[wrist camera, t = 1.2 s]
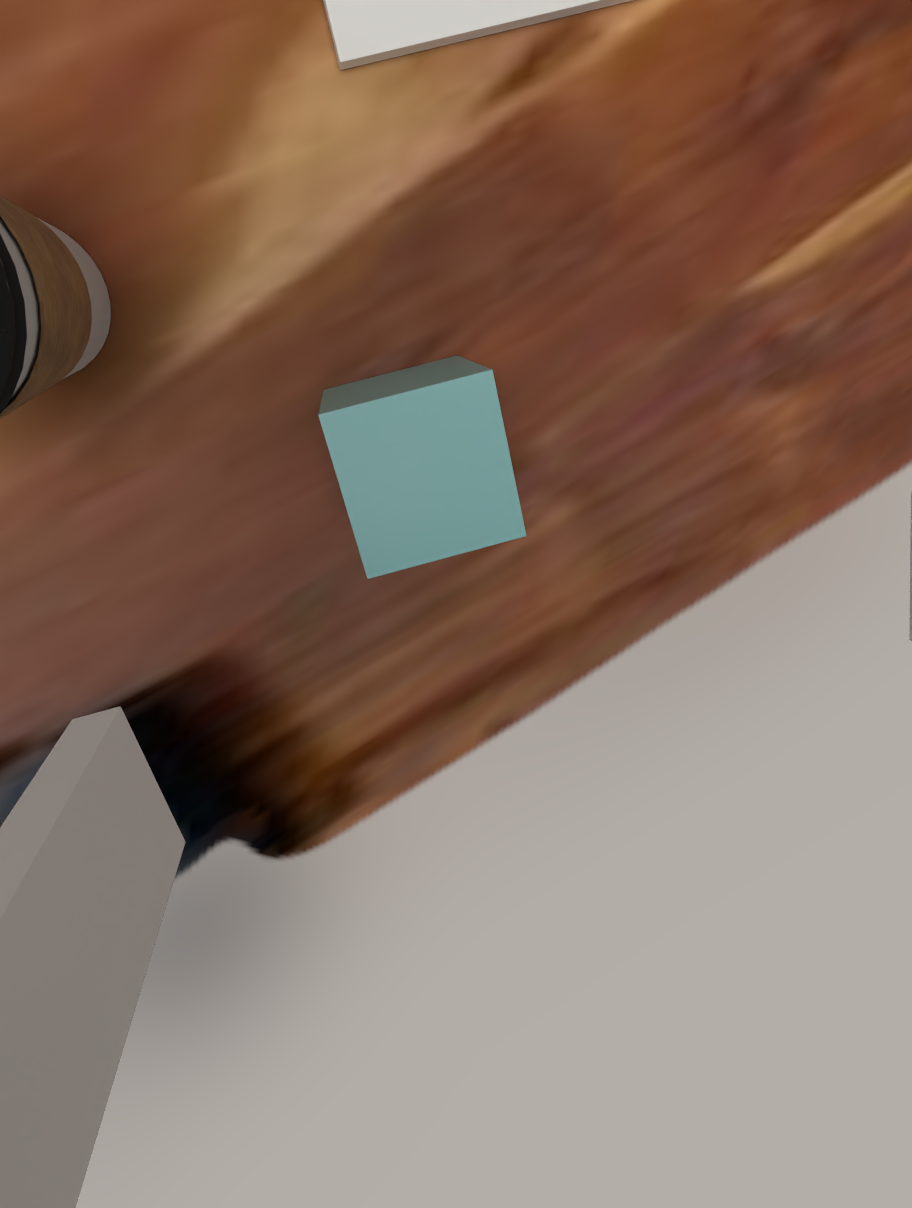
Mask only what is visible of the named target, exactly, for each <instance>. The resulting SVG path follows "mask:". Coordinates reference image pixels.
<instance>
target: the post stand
mask: <svg viewBox="0 0 912 1208" xmlns="http://www.w3.org/2000/svg"><path fill="white" fill-rule="evenodd" d="M629 1H633V0H323V2H324V6H325V11H326V15H327V19H328V23H329V27H330V31H331V35H332V39H333V43H334V47H335V51H336V56H337V60H338V64H339V68H340V70H344V69H348V68H352V67H356V66H360V65H365V64H369V63H373V62H377V61H381V60H386V59H390V58H394V57H398V56H402V55H406V54H411V53H415V52H419V51H423V50H427V49H432V48H436V47H440V46H444V45H448V44H453V43H457V42H461V41H465V40H469V39H474V38H478V37H482V36H486V35H490V34H495V33H499V32H503V31H507V30H511V29H516V28H520V27H524V26H528V25H532V24H536V23H541V22H545V21H549V20H553V19H557V18H562V17H566V16H570V15H574V14H578V13H583V12H587V11H591V10H595V9H599V8H604V7H608V6H612V5H616V4H620V3H625V2H629Z"/></svg>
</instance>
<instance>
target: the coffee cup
mask: <svg viewBox="0 0 912 1208" xmlns="http://www.w3.org/2000/svg"><path fill="white" fill-rule="evenodd" d="M110 321H111V309H110V300H109V295H108V291H107V287H106V284H105V282H104V280H103V277H102V275H101V272H100V271H99V269H98V268H97V266H96V265H95V263H94V261H93V260H92V258H91V257H90V256H89V255H88V254H87V253H86V251H85V250H84V249H83V248H82V247H81V246H80V245H79V244H78V243H77V242H75V241H74V240H73V239H72V238H70V237H69V236H68V235H67V234H65V233H64V232H62V231H61V230H59V229H57V228H55V227H53V226H52V225H50V224H48V223H46V222H44V221H42V220H41V219H39V218H37V217H35V216H34V215H32V214H30V213H29V212H27V211H25V210H24V209H22V208H20V207H19V206H17V205H15V204H14V203H12V202H10V201H9V200H7V199H5V198H4V197H2V196H0V418H2V417H3V416H5V415H7V414H8V413H10V412H11V411H13V410H15V409H16V408H18V407H19V406H21V405H23V404H24V403H26V402H28V401H29V400H31V399H32V398H34V397H36V396H37V395H39V394H40V393H42V392H44V391H45V390H47V389H48V388H50V387H52V386H53V385H55V384H56V383H58V382H60V381H61V380H62V379H64V378H66V377H68V376H70V375H71V374H73V373H75V372H77V371H79V370H80V369H82V368H84V367H85V366H86V365H87V364H88V363H89V362H91V361H92V360H93V359H94V358H95V357H96V355H97V354H98V353H99V351H100V350H101V348H102V347H103V345H104V343H105V340H106V338H107V335H108V333H109V327H110Z"/></svg>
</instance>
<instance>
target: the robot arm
mask: <svg viewBox="0 0 912 1208" xmlns="http://www.w3.org/2000/svg"><path fill="white" fill-rule="evenodd" d="M910 553H911V554H910V555H911V556H910V558H911V559H910V640H911V641H912V492H911V552H910ZM184 845H185V840H184V838H183V836H182V834H181V832H180V830H179V828H178V826H177V824H176V822H175V819H174V817H173V815H172V813H171V811H170V809H169V807H168V805H167V803H166V801H165V799H164V796H163V794H162V792H161V790H160V788H159V786H158V784H157V782H156V780H155V778H154V775H153V773H152V771H151V769H150V767H149V765H148V763H147V761H146V759H145V757H144V754H143V752H142V750H141V748H140V746H139V744H138V742H137V740H136V738H135V736H134V733H133V731H132V729H131V727H130V725H129V723H128V721H127V719H126V717H125V715H124V713H123V710H122V708H121V706H120V707H116V708H112V709H109V710H105V711H101V712H98V713H94V714H90V715H87V716H83V717H79V718H76V719H72V721H71V722H70V724H69V725H68V727H67V728H66V730H65V731H64V733H63V734H62V736H61V737H60V739H59V740H58V742H57V743H56V745H55V746H54V748H53V749H52V751H51V752H50V754H49V755H48V757H47V758H46V760H45V761H44V763H43V764H42V766H41V767H40V769H39V770H38V772H37V773H36V775H35V776H34V778H33V779H32V781H31V782H30V784H29V785H28V787H27V788H26V790H25V791H24V793H23V794H22V796H21V797H20V799H19V800H18V802H17V803H16V805H15V806H14V808H13V809H12V811H11V812H10V814H9V815H8V817H7V818H6V820H5V821H4V823H3V824H2V826H1V827H0V1208H75V1207H76V1204H77V1201H78V1197H79V1194H80V1191H81V1187H82V1184H83V1180H84V1177H85V1174H86V1171H87V1167H88V1164H89V1160H90V1157H91V1154H92V1151H93V1147H94V1144H95V1140H96V1138H97V1134H98V1131H99V1128H100V1124H101V1121H102V1118H103V1114H104V1111H105V1108H106V1104H107V1101H108V1097H109V1094H110V1090H111V1087H112V1084H113V1081H114V1078H115V1074H116V1071H117V1068H118V1064H119V1061H120V1058H121V1054H122V1051H123V1047H124V1044H125V1041H126V1037H127V1034H128V1031H129V1028H130V1024H131V1021H132V1018H133V1014H134V1011H135V1008H136V1004H137V1001H138V998H139V995H140V991H141V988H142V985H143V981H144V978H145V975H146V971H147V967H148V964H149V961H150V958H151V955H152V951H153V948H154V945H155V941H156V938H157V935H158V931H159V928H160V924H161V921H162V918H163V915H164V911H165V908H166V905H167V901H168V898H169V894H170V891H171V888H172V885H173V882H174V878H175V875H176V872H177V868H178V865H179V862H180V858H181V855H182V852H183V848H184Z"/></svg>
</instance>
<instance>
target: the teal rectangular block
mask: <svg viewBox="0 0 912 1208" xmlns="http://www.w3.org/2000/svg"><path fill="white" fill-rule="evenodd" d="M318 416H319V419H320V422H321V426H322V429H323V432H324V436H325V439H326V442H327V446H328V449H329V452H330V456H331V459H332V462H333V466H334V469H335V472H336V476H337V479H338V482H339V486H340V489H341V492H342V496H343V499H344V502H345V506H346V509H347V512H348V515H349V519H350V522H351V525H352V529H353V532H354V535H355V539H356V542H357V545H358V549H359V552H360V555H361V559H362V562H363V565H364V569H365V572H366V575H367V579H369V578H373V577H377V576H381V575H384V574H388V573H392V572H395V571H399V570H403V569H406V568H410V567H414V566H417V565H421V564H425V563H429V562H432V561H436V560H440V559H443V558H447V557H451V556H454V555H458V554H462V553H465V552H469V551H473V550H477V549H480V548H484V547H488V546H491V545H495V544H499V543H502V542H506V541H510V540H513V539H517V538H521V537H525V536H526V531H525V526H524V522H523V517H522V512H521V507H520V502H519V497H518V492H517V487H516V482H515V478H514V473H513V468H512V463H511V458H510V453H509V448H508V443H507V438H506V433H505V429H504V424H503V419H502V414H501V409H500V404H499V399H498V394H497V389H496V385H495V380H494V375H493V370H492V369H490V368H487V367H485V366H482V365H480V364H477V363H475V362H472V361H470V360H467V359H465V358H462V357H460V356H457V355H456V356H453V357H449V358H445V359H441V360H437V361H433V362H429V363H425V364H422V365H418V366H414V367H410V368H406V369H402V370H398V371H394V372H391V373H387V374H383V375H379V376H375V377H371V378H367V379H363V380H360V381H356V382H352V383H348V384H344V385H340V386H336V387H333V388H329V389H325V390H323V394H322V399H321V404H320V409H319V413H318Z"/></svg>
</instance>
